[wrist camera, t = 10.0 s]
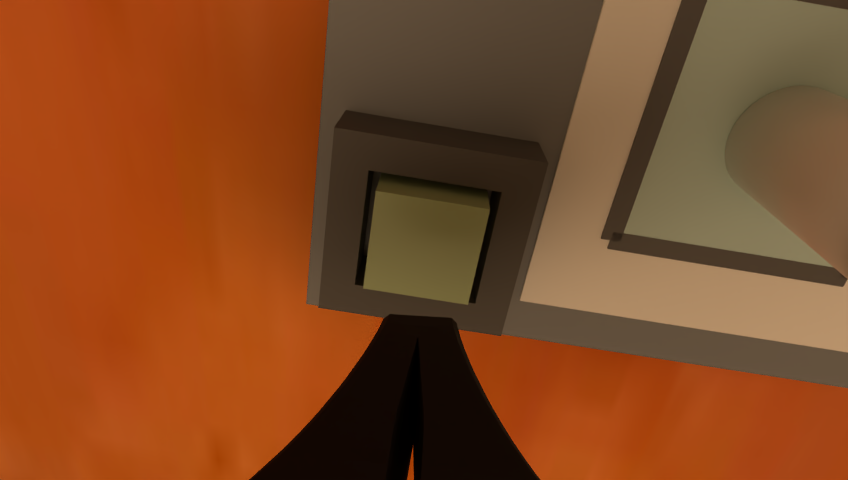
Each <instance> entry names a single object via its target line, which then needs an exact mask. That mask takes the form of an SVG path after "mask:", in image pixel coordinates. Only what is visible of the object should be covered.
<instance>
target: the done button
mask: <svg viewBox="0 0 848 480" xmlns="http://www.w3.org/2000/svg"><path fill="white" fill-rule="evenodd" d="M489 212H490V206H489V199H488V193H487V190H485V189H479V188H473V187H467V186H461V185H455V184H449V183H443V182H437V181H431V180H425V179H418V178H412V177H406V176H400V175H394V174H388V173H382V172H381V176H380V179H379V182H378V185H377V188H376V193H375V201H374V208H373V216H372V224H371V232H370V239H369V247H368V255H367V263H366V270H365V278H364V286H363V288H364V289H370V290H376V291H383V292H389V293H395V294H402V295H408V296H414V297H421V298H427V299H434V300H440V301H446V302H453V303H459V304H465V305H468V302H469V298H470V294H471V289H472V285H473V281H474V276H475V272H476V268H477V264H478V259H479V255H480V251H481V246H482V242H483V238H484V234H485V229H486V225H487V221H488V217H489Z"/></svg>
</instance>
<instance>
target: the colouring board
mask: <svg viewBox="0 0 848 480" xmlns="http://www.w3.org/2000/svg"><path fill="white" fill-rule="evenodd" d="M800 85H803V86H813V87H818V88H821V89H823V90H826V91H828V92H831V93H833V94H836V95H838V96H841V97H843V98H846V99H848V0H329V10H328V24H327V37H326V50H325V63H324V77H323V90H322V103H321V116H320V130H319V143H318V156H317V169H316V183H315V196H314V209H313V222H312V236H311V249H310V262H309V275H308V289H307V302H306V304H311V305H317V306H318V308H324V309H331V310H337V311H344V312H350V313H356V314H363V315H369V316H376V317H382V318H385V317H386V316H388V315H389V314H399V315H415V316H432V317H448V318H453V320H454V321H455V322H456V323H457V326H458V329H459V330H466V331H472V332H479V333H485V334H492V335H498V336H501V334H504V335H510V336H517V337H523V338H530V339H536V340H543V341H549V342H555V343H562V344H568V345H575V346H581V347H588V348H594V349H600V350H607V351H613V352H620V353H626V354H633V355H639V356H645V357H652V358H658V359H665V360H671V361H678V362H684V363H691V364H697V365H703V366H710V367H716V368H723V369H729V370H736V371H742V372H748V373H755V374H761V375H768V376H774V377H781V378H787V379H793V380H800V381H806V382H813V383H819V384H826V385H832V386H838V387H845V388H848V279H847V278H846V277H845V276H843V275H842V274H841V273H840V272H839V271H838V270H836V269H835V268H834V267H833V266H832V265H830V264H829V263H828V262H827V261H826V260H825V259H823V258H822V257H821V256H820V255H819V254H818V253H816V252H815V251H814V250H813V249H812V248H811V247H809V246H808V245H807V244H806V243H805V242H804V241H802V240H801V239H800V238H799V237H798V236H797V235H795V234H794V233H793V232H792V231H791V230H789V229H788V228H787V227H786V226H785V225H784V224H782V223H781V222H780V221H779V220H778V219H777V218H775V217H774V216H773V215H772V214H771V213H770V212H768V211H767V210H766V209H765V208H764V207H763V206H761V205H760V204H759V203H758V202H757V201H756V200H754V199H753V198H752V197H751V196H750V195H749V194H747V193H746V192H745V191H744V190H743V189H741V188H740V187H739V186H738V185H737V184H736V183H735V182H734V181H733V180H732V178H731V177H730V175H729V173H728V171H727V168H726V164H725V147H726V143H727V139H728V136H729V134H730V132H731V130H732V128H733V126H734V124H735V123H736V121H737V120H738V119H739V117H740V116H741V115H742V114H743V113H744V112H745V111H746V110H747V109H748V108H749V107H750V106H751V105H752V104H753V103H755V102H756V101H758V100H759V99H760V98H762V97H764V96H766V95H767V94H769V93H772V92H774V91H776V90H779V89H782V88H786V87H791V86H800ZM381 172H382V173H388V174H394V175H400V176H406V177H412V178H418V179H425V180H431V181H437V182H443V183H449V184H455V185H461V186H467V187H473V188H479V189H485V190H487V193H488V199H489V206H490V212H489V217H488V221H487V225H486V229H485V234H484V238H483V242H482V246H481V251H480V255H479V259H478V264H477V268H476V272H475V276H474V281H473V285H472V289H471V294H470V298H469V302H468V305H465V304H459V303H453V302H446V301H440V300H434V299H427V298H421V297H414V296H408V295H402V294H395V293H389V292H383V291H376V290H370V289H364V288H363V286H364V278H365V270H366V263H367V255H368V247H369V239H370V232H371V224H372V216H373V208H374V201H375V193H376V188H377V185H378V182H379V179H380V176H381Z"/></svg>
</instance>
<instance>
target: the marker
mask: <svg viewBox="0 0 848 480" xmlns="http://www.w3.org/2000/svg"><path fill="white" fill-rule="evenodd" d="M725 164H726V168H727V171H728V173H729V175H730V177H731V178H732V180H733V181H734V182H735V183H736V184H737V185H738V186H739V187H740V188H741V189H743V190H744V191H745V192H746V193H747V194H749V195H750V196H751V197H752V198H753V199H754V200H756V201H757V202H758V203H759V204H760V205H761V206H763V207H764V208H765V209H766V210H767V211H768V212H770V213H771V214H772V215H773V216H774V217H775V218H777V219H778V220H779V221H780V222H781V223H782V224H784V225H785V226H786V227H787V228H788V229H789V230H791V231H792V232H793V233H794V234H795V235H797V236H798V237H799V238H800V239H801V240H802V241H804V242H805V243H806V244H807V245H808V246H809V247H811V248H812V249H813V250H814V251H815V252H816V253H818V254H819V255H820V256H821V257H822V258H823V259H825V260H826V261H827V262H828V263H829V264H830V265H832V266H833V267H834V268H835V269H836V270H838V271H839V272H840V273H841V274H842V275H843V276H845V277H846V278H847V279H848V99H846V98H843V97H841V96H838V95H836V94H833V93H831V92H828V91H826V90H823V89H821V88H818V87H813V86H803V85H800V86H791V87H786V88H782V89H779V90H776V91H774V92H772V93H769V94H767V95H766V96H764V97H762V98H760V99H759V100H758V101H756V102H755V103H753V104H752V105H751V106H750V107H749V108H748V109H747V110H746V111H745V112H744V113H743V114H742V115H741V116H740V117H739V119H738V120H737V121H736V123H735V124H734V126H733V128H732V130H731V132H730V134H729V136H728V139H727V143H726V147H725Z"/></svg>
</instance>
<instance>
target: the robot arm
mask: <svg viewBox="0 0 848 480" xmlns="http://www.w3.org/2000/svg"><path fill="white" fill-rule="evenodd" d="M412 448H413V457H414V480H540V479H539V478H538V476H537V475H536V474H535V472H534V471H533V470H532V468H531V467H530V465H529V464H528V463H527V461H526V460H525V458H524V457H523V456H522V454H521V453H520V451H519V450H518V448H517V447H516V445H515V444H514V442H513V441H512V439H511V438H510V436H509V435H508V433H507V431H506V430H505V428H504V427H503V425H502V423H501V421H500V420H499V418H498V416H497V415H496V413H495V411H494V410H493V408H492V406H491V404H490V402H489V401H488V399H487V397H486V395H485V393H484V391H483V389H482V387H481V385H480V383H479V381H478V379H477V377H476V375H475V373H474V371H473V368H472V366H471V364H470V362H469V359H468V357H467V354H466V352H465V349H464V346H463V344H462V341H461V338H460V334H459V331H458V326H457V323H456V322H455V321H454V320H453V318H448V317H432V316H415V315H399V314H389V315H388V316H386V317H385V318H384V319H383V321H382V323H381V325H380V327H379V329H378V331H377V333H376V335H375V336H374V338H373V340H372V341H371V343H370V344H369V346H368V348H367V349H366V351H365V352H364V354H363V355H362V357H361V358H360V360H359V361H358V362H357V364H356V365H355V366H354V368H353V369H352V371H351V372H350V373H349V375H348V376H347V378H346V379H345V380H344V382H343V383H342V384H341V385H340V387H339V388H338V389H337V390H336V392H335V393H334V394H333V395H332V396H331V398H330V399H329V400H328V401H327V402H326V404H325V405H324V406H323V407H322V408H321V410H320V411H319V412H318V413H317V414H316V415H315V416H314V418H313V419H312V420H311V421H310V422H309V423H308V424H307V425H306V426H305V427H304V428H303V429H302V430H301V432H300V433H299V434H298V435H297V436H296V437H295V438H294V439H293V440H292V441H291V442H290V443H289V444H288V445H287V446H286V447H285V448H284V449H283V450H281V451H280V452H279V453H278V454H277V455H276V456H275V457H274V458H273V459H272V460H271V461H269V462H268V463H267V464H266V465H265V466H264V467H263V468H262V469H261V470H260V471H258V472H257V473H256V474H255V475H254V476H253V477H252V478H251V479H249V480H407V476H408V470H409V465H410V459H411V453H412Z"/></svg>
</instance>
